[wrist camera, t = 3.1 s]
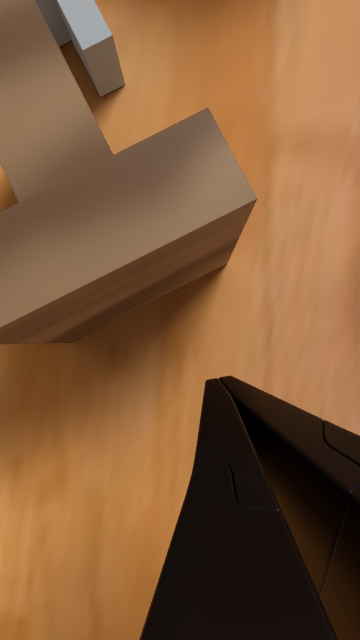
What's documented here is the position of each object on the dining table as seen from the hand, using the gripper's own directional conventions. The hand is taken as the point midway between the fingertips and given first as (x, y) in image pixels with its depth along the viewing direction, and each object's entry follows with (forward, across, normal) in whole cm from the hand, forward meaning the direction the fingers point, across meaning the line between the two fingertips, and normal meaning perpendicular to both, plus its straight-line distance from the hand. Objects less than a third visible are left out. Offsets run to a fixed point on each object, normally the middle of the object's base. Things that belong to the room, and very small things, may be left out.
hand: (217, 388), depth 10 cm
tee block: (+15, -4, +3) cm, 16 cm away
